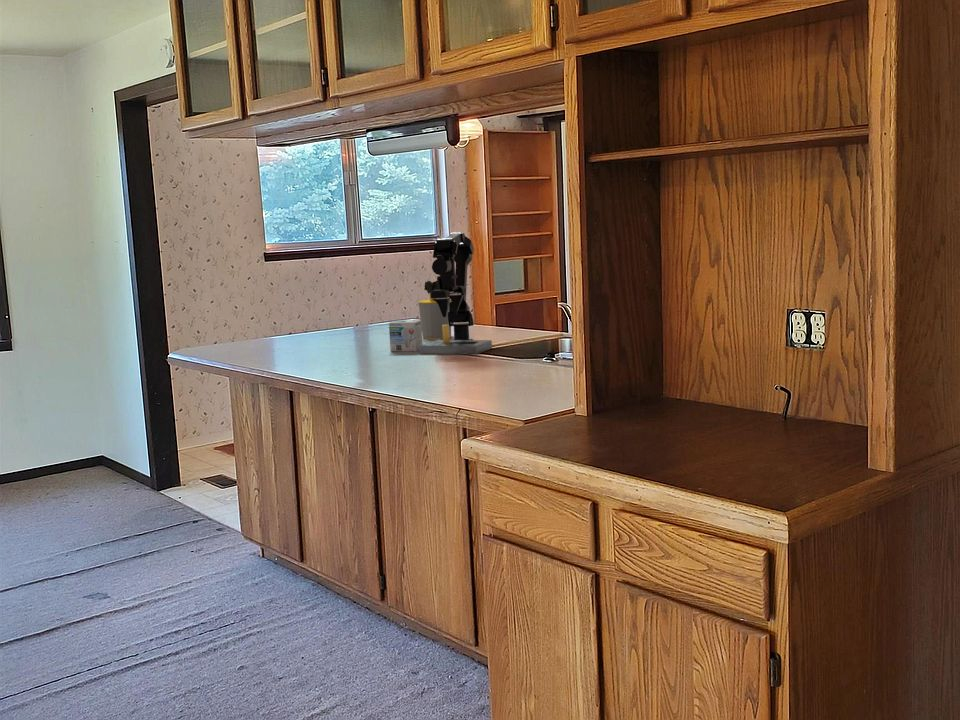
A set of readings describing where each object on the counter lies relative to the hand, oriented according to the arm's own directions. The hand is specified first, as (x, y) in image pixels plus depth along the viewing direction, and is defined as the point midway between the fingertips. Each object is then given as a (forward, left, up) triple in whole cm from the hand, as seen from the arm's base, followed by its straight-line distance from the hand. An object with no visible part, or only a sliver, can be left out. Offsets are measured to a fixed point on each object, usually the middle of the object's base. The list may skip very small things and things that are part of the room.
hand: (449, 315), depth 347 cm
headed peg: (+7, +1, -12) cm, 14 cm away
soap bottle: (-29, -20, -12) cm, 37 cm away
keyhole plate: (+7, +5, -12) cm, 15 cm away
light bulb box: (+5, -16, -12) cm, 21 cm away
